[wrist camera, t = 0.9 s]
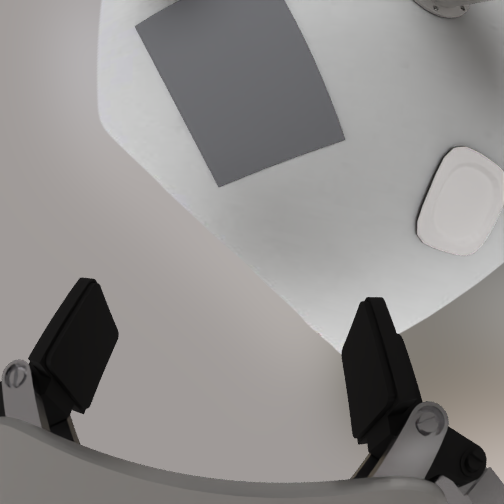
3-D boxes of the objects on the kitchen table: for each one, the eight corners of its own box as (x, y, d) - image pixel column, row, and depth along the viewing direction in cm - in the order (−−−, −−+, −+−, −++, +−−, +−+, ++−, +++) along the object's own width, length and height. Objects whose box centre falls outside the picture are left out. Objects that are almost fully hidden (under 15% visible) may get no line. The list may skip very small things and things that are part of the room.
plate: (510, 174, 34) (516, 177, 32) (471, 256, 43) (475, 262, 42) (444, 132, 32) (450, 135, 31) (402, 235, 42) (406, 241, 41)
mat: (263, -33, 22) (263, -34, 21) (344, 138, 34) (345, 139, 34) (136, 27, 26) (134, 26, 26) (219, 185, 39) (218, 187, 39)
